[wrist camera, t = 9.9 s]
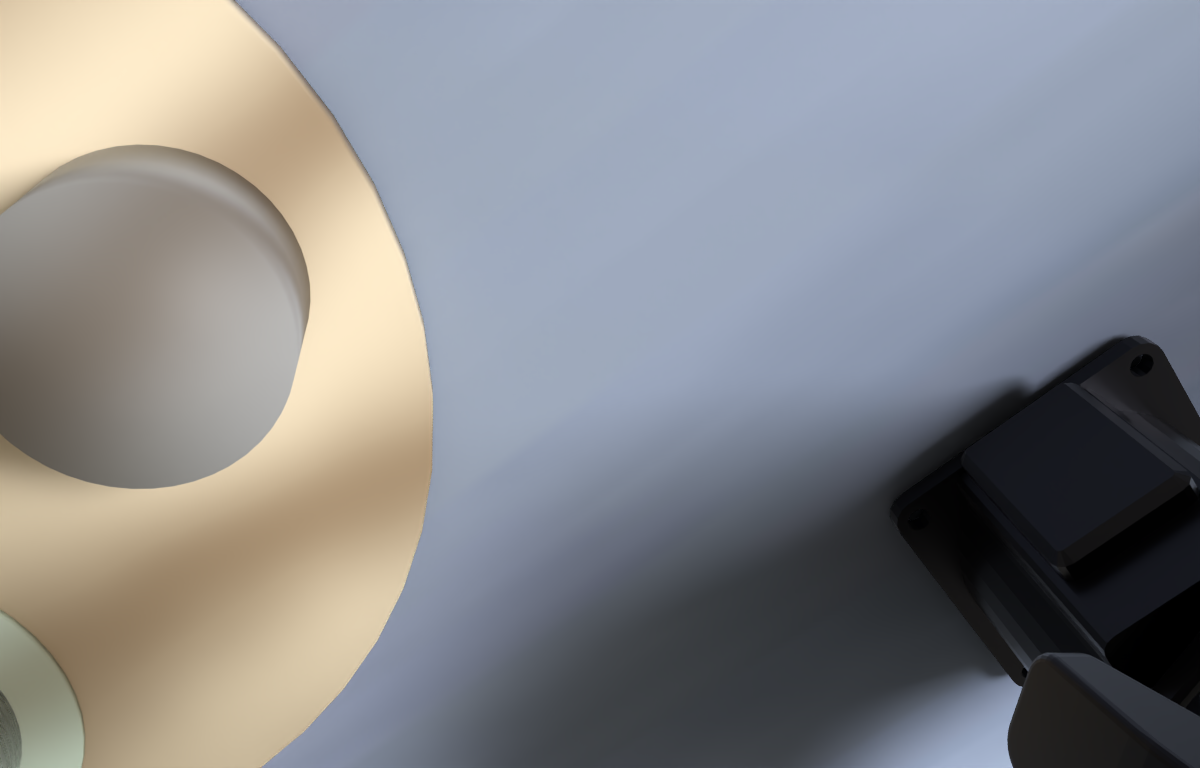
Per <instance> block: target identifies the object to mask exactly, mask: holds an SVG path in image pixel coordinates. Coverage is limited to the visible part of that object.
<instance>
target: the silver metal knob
mask: <svg viewBox="0 0 1200 768" xmlns="http://www.w3.org/2000/svg"><path fill="white" fill-rule="evenodd" d="M21 757H22V738H21V733H20V727H19V724H18V721H17V719H16V716H15V713H14V711H13V709H12V707H11V706H10V704H9V702H8V700H7V698H6V697H5V696H4V694H3V693H2V692H1V690H0V768H20V763H21Z"/></svg>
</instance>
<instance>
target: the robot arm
mask: <svg viewBox="0 0 1200 768" xmlns="http://www.w3.org/2000/svg"><path fill="white" fill-rule="evenodd" d="M1139 355H1142V358H1141V361H1140V362H1139V363H1138V364H1137V366H1135V367H1133V368H1131V369H1130V366H1131V363H1132V361H1133V360H1134V359H1135V358H1136V357H1137V356H1139ZM919 509H922V510H923V512H922V514H921V515H920V516H919V517H918V518H916V519H914V520H908V519H909V516H910V515H911V514H912V513H913V512H915V511H917V510H919ZM890 518H891V520H892V522H893V524H894V526H895V527H896V528H897V530H898V531H899V532H900V534H901V535H902V536H903V538H904V539H905V540H906V542H907V543H908V544H909V546H910V547H911V548H912V549H913V551H914V552H915V553H916V555H917V556H918V557H919V559H920V560H921V561H922V563H923V564H924V565H925V566H926V568H927V569H928V570H929V572H930V573H931V574H932V576H933V577H934V578H935V579H936V581H937V582H938V583H939V585H940V586H941V587H942V589H943V590H944V591H945V593H946V594H947V595H948V596H949V598H950V599H951V600H952V602H953V603H954V604H955V606H956V607H957V608H958V610H959V611H960V612H961V613H962V615H963V616H964V617H965V619H966V620H967V621H968V623H969V624H970V625H971V626H972V628H973V629H974V630H975V632H976V633H977V634H978V636H979V637H980V638H981V640H982V641H983V642H984V643H985V645H986V646H987V647H988V649H989V650H990V651H991V653H992V654H993V655H994V657H995V658H996V659H997V660H998V662H999V663H1000V664H1001V666H1002V667H1003V668H1004V670H1005V671H1006V672H1007V673H1008V675H1009V676H1010V677H1011V679H1012V680H1013V681H1014V682H1015V683H1016V684H1017V685H1019V686H1022V687H1023V688H1022V691H1021V694H1020V697H1019V699H1018V702H1017V705H1016V708H1015V711H1014V714H1013V717H1012V720H1011V723H1010V726H1009V730H1008V739H1007V740H1008V751H1009V756H1010V760H1011V763H1012V766H1013V768H1200V417H1199V415H1198V414H1197V412H1196V410H1195V408H1194V406H1193V404H1192V403H1191V401H1190V399H1189V397H1188V395H1187V394H1186V392H1185V390H1184V388H1183V386H1182V385H1181V383H1180V381H1179V379H1178V377H1177V376H1176V374H1175V372H1174V370H1173V368H1172V367H1171V365H1170V363H1169V361H1168V359H1167V358H1166V356H1165V354H1164V352H1163V351H1162V349H1161V348H1160V347H1159V346H1158V345H1156V344H1155V343H1153V342H1152V341H1150V340H1148V339H1147V338H1145V337H1141V336H1131V337H1128V338H1126V339H1124V340H1122V341H1120V342H1119V343H1117V344H1116V345H1114V346H1113V347H1112V348H1110V349H1109V350H1107V351H1106V352H1104V353H1103V354H1102V355H1100V356H1099V357H1097V358H1096V359H1094V360H1093V361H1092V362H1090V363H1089V364H1087V365H1086V366H1085V367H1083V368H1082V369H1080V370H1079V371H1077V372H1076V373H1075V374H1073V375H1072V376H1070V377H1069V378H1067V379H1066V380H1065V381H1063V382H1062V383H1060V384H1059V385H1057V386H1056V387H1054V388H1053V389H1052V390H1050V391H1049V392H1047V393H1046V394H1044V395H1043V396H1042V397H1040V398H1039V399H1037V400H1036V401H1034V402H1033V403H1032V404H1030V405H1029V406H1027V407H1026V408H1024V409H1023V410H1022V411H1020V412H1019V413H1017V414H1016V415H1014V416H1013V417H1012V418H1010V419H1009V420H1007V421H1006V422H1004V423H1003V424H1002V425H1000V426H999V427H997V428H996V429H994V430H993V431H992V432H990V433H989V434H987V435H986V436H984V437H983V438H982V439H980V440H979V441H977V442H976V443H974V444H973V445H972V446H970V447H969V448H967V449H966V450H965V451H963V452H962V453H960V454H959V455H957V456H956V457H955V458H953V459H952V460H950V461H949V462H947V463H946V464H945V465H943V466H942V467H940V468H939V469H937V470H936V471H935V472H933V473H932V474H930V475H929V476H927V477H926V478H925V479H923V480H922V481H920V482H919V483H917V484H916V485H915V486H913V487H912V488H910V489H909V490H907V491H906V492H905V493H903V494H902V495H900V496H899V497H898V498H897V499H896V500H895V501H894V503H893V505H892V507H891V510H890ZM1023 667H1024V668H1023Z"/></svg>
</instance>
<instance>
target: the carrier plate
mask: <svg viewBox="0 0 1200 768" xmlns="http://www.w3.org/2000/svg"><path fill="white" fill-rule="evenodd" d="M432 431H433V392H432V381H431V374H430V366H429V359H428V351H427V344H426V336H425V329H424V321H423V318H422V314H421V311H420V307H419V304H418V300H417V296H416V293H415V289H414V286H413V282H412V279H411V275H410V271H409V268H408V264H407V261H406V257H405V254H404V251H403V249H402V247H401V244H400V242H399V240H398V237H397V235H396V233H395V230H394V228H393V226H392V223H391V221H390V219H389V217H388V214H387V212H386V210H385V207H384V205H383V203H382V200H381V198H380V196H379V193H378V191H377V189H376V187H375V184H374V182H373V181H372V179H371V177H370V176H369V174H368V172H367V171H366V169H365V167H364V166H363V164H362V162H361V161H360V159H359V157H358V156H357V154H356V152H355V151H354V149H353V147H352V146H351V144H350V142H349V141H348V139H347V137H346V136H345V134H344V132H343V130H342V129H341V127H340V125H339V124H338V122H337V120H336V119H335V117H334V115H333V114H332V113H331V111H330V110H329V109H328V107H327V106H326V105H325V104H324V102H323V101H322V100H321V98H320V97H319V96H318V95H317V93H316V92H315V91H314V89H313V88H312V87H311V86H310V84H309V83H308V82H307V80H306V79H305V78H304V77H303V75H302V74H301V73H300V71H299V70H298V69H297V68H296V66H295V65H294V64H293V62H292V61H291V60H290V59H289V57H288V56H287V55H286V53H285V52H284V51H283V50H282V48H281V47H280V46H279V45H278V44H277V43H276V42H275V41H274V40H273V39H272V38H271V37H270V36H269V35H268V34H267V33H266V32H265V31H264V30H263V29H262V28H261V27H260V26H259V25H258V24H257V23H256V22H255V21H254V20H253V19H252V18H251V17H250V16H249V15H248V14H247V13H246V12H245V11H244V9H243V8H242V7H241V6H240V5H239V4H238V3H237V2H236V1H235V0H0V690H1V692H2V693H3V694H4V696H5V697H6V698H7V700H8V702H9V704H10V706H11V707H12V709H13V711H14V713H15V716H16V719H17V721H18V724H19V727H20V733H21V738H22V757H21V763H20V768H261V767H262V766H263V765H265V764H266V763H267V762H268V761H269V760H271V759H272V758H273V757H274V756H275V755H277V754H278V753H279V752H280V751H281V750H283V749H284V748H285V747H286V746H287V745H289V744H290V743H291V742H292V741H293V740H295V739H296V738H297V737H298V736H299V735H301V734H302V733H303V732H304V731H305V730H306V729H307V728H308V727H309V726H310V725H311V724H312V723H313V721H314V720H315V719H316V718H317V717H318V716H319V715H320V714H321V713H322V712H323V711H324V710H325V708H326V707H327V706H328V705H329V704H330V703H331V702H332V701H333V700H334V699H335V698H336V697H337V696H338V694H339V693H340V692H341V691H342V690H343V689H344V688H345V686H346V685H347V683H348V682H349V681H350V679H351V678H352V676H353V675H354V673H355V672H356V671H357V669H358V668H359V666H360V665H361V663H362V662H363V660H364V659H365V658H366V656H367V655H368V653H369V652H370V650H371V649H372V647H373V646H374V645H375V643H376V642H377V640H378V638H379V636H380V634H381V632H382V630H383V628H384V626H385V624H386V622H387V620H388V618H389V616H390V614H391V612H392V610H393V608H394V606H395V604H396V602H397V600H398V598H399V596H400V594H401V592H402V590H403V588H404V585H405V582H406V579H407V576H408V573H409V570H410V566H411V563H412V560H413V557H414V554H415V551H416V548H417V545H418V542H419V539H420V536H421V533H422V528H423V522H424V516H425V510H426V503H427V497H428V491H429V485H430V479H431V473H432Z"/></svg>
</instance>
